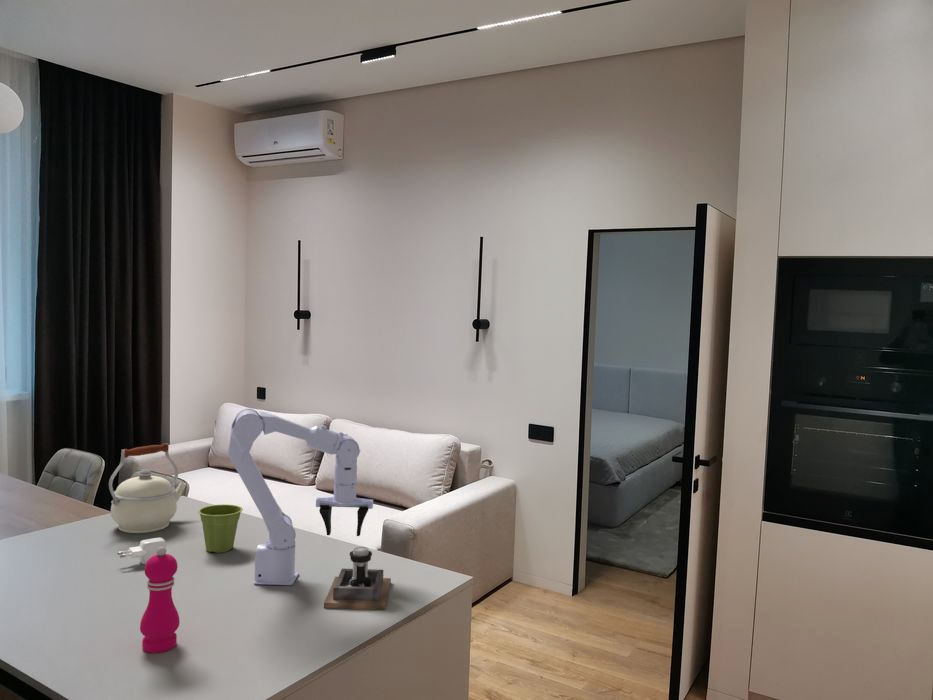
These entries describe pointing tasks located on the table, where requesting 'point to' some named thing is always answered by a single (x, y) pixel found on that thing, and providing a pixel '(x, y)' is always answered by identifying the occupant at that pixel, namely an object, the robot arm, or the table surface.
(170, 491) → the kettle
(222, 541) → the plant pot
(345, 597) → the socket board
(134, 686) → the table surface
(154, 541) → the power adapter
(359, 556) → the push button
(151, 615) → the pepper mill
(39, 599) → the table surface
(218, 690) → the table surface
